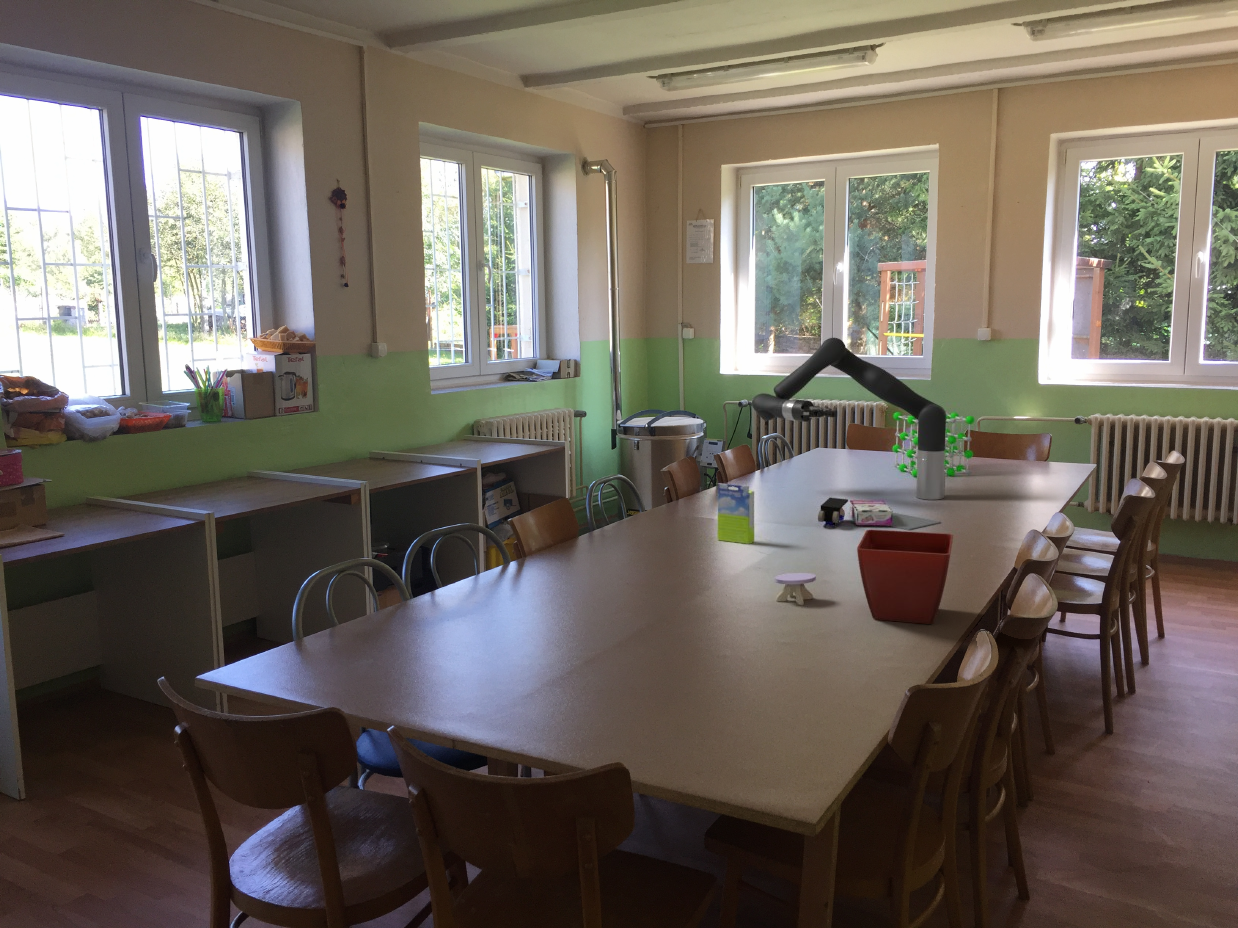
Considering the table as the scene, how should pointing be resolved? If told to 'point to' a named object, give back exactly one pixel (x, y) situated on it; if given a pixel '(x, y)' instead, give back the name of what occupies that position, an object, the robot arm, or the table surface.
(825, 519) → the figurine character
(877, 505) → the candy bar box
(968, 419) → the molecular structure model
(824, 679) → the table surface
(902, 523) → the mat
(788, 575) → the toy table
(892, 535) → the plant pot
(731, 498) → the box
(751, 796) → the table surface
